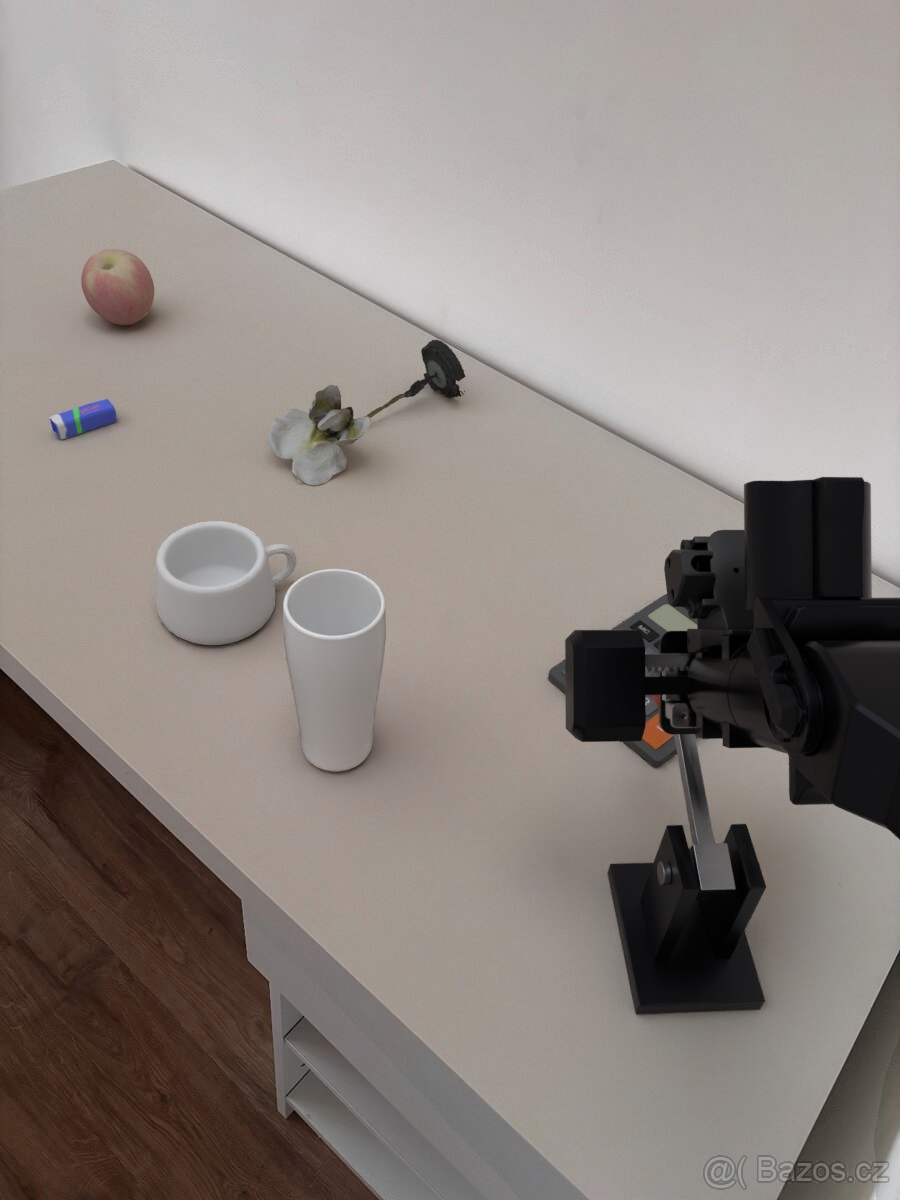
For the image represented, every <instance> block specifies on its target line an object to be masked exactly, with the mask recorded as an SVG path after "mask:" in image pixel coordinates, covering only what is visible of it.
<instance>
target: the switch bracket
mask: <svg viewBox="0 0 900 1200" xmlns="http://www.w3.org/2000/svg"><path fill="white" fill-rule="evenodd" d="M722 843H727V844H728V847H729V852H730V858H731V863H732V868H733V874H734V879H735V884H736V889H735V890H734V891H733V892H732V893H731V894H730V895H729V896H728V897H727V898H726V899H724V900H699V901H695V899H696V897H697V894H698V892H699V890H700V888H699V885H698V881H697V877H696V873H695V870H694V866H693V862H692V858H691V855H690V851H689V848H690V847H689V844H688V840H687V837H686V832H685V828H684V826H683V824H668V825H666V827H665V829H664V832H663V835H662V838H661V840H660V844H659V846H658V850H657V852H656V855H655V857H654V860H653V862H624V863H623V862H622V863H621V862H619V863H610V864H609V867H608V870H607V877H608V882H609V888H610V893H611V898H612V903H613V908H614V912H615V918H616V923H617V928H618V933H619V937H620V942H621V947H622V952H623V958H624V962H625V968H626V972H627V978H628V983H629V987H630V992H631V998H632V1002H633V1008H634V1013H635V1015H651V1014H674V1013H676V1014H678V1013H702V1012H703V1013H705V1012H725V1011H726V1012H727V1011H753V1010H761V1009H762V1007H763V1006H764V1004H765V1002H766V999H765V995H764V992H763V987H762V985H761V982H760V979H759V975H758V971H757V968H756V965H755V961H754V957H753V955H752V950H751V947H750V943H749V940H748V938H747V934H746V931H745V930H746V928H747V927H748V925H749V923H750V921H751V919H752V916H753V915H754V913H755V911H756V909H757V907H758V905H759V903H760V902H761V899H762V897H763V895H764V893H765V891H766V890H767V884H766V881H765V878H764V874H763V872H762V868H761V865H760V862H759V859H758V856H757V853H756V850H755V847H754V843H753V840H752V836H751V834H750V831H749V828H748V825H747V823H731V824H730V826H729V829H728V830H727V833H726V836H725V837H724V840H723V842H722Z"/></svg>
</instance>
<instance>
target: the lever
mask: <svg viewBox="0 0 900 1200" xmlns="http://www.w3.org/2000/svg"><path fill="white" fill-rule="evenodd" d="M653 700H654V702H655V704H656V706H657V707H658V709H659V695H653ZM674 738H675V744H676V750H677V753H676V755H677V761H678V766H679V773H680V779H681V784H682V790H683V795H684V801H685V808H686V814H687V819H688V825H689V831H690V835H691V842H692V845H690V847H689V851H690V855H691V858H692V862H693V866H694V870H695V873H696V877H697V881H698V885H699V888H700V890H699V892H698V894H697V897H696V899H695V901H699V900H724V899H726V898H727V897H728V896H729V895H730V894H731V893H732V892H733V891H734V890H735V889H736V884H735V879H734V874H733V868H732V863H731V858H730V852H729V847H728V844H727V843H723V842H722V843H721V842H716V841H715V836H714V831H713V825H712V820H711V814H710V809H709V805H708V797H707V792H706V787H705V781H704V777H703V776H704V775H703V771H702V765H701V761H700V754H699V749H698V744H697V737H696V738H695V734H674Z"/></svg>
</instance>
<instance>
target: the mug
mask: <svg viewBox="0 0 900 1200" xmlns="http://www.w3.org/2000/svg"><path fill="white" fill-rule="evenodd" d="M279 554H282V555H284V556H286V563H285V565H284V567H283V568H282V569H281V570H280V571H279V572H277V573H275V574H272V571H271V566H270V562H269V557H271V556H273V555H279ZM296 565H297V555H296V551H295V550H294V548H292V547H291V546H289V545H287V544H284V543H275V544H274V543H273V544H271V545H267V546H265V544H264V542H263V540H262V539H261V538H260V537H259V536H258V534H256V532H254V531H252V530H251V529H249V528H248V527H247V526H244V525H241V524H239V523H236V522H230V521H224V520H208V521H207V520H206V521H201V522H196V523H192V524H189V525H187V526H184V527H181V528H180V529H178V530H176V531H174V532H173V533H170V534H169V535H168V537H166V538H165V540H163V541H162V543H161V545H160V546H159V549H158V551H157V553H156V559H155V581H156V582H155V599H156V601H155V602H156V608H157V612H158V615H159V619H160V621H161V623H162V624H163V625H164V627H165V628H166V629H167V631H170V632H171V633H172V634H173V635H175V636H177V637H179V639H183V640H185V641H187V642H190V643H192V644H197V645H204V646H221V645H222V646H223V645H226V644H227V645H228V644H233V643H236V642H239V641H241V640H243V639H246V638H248V637H250V636H251V635H253V634H254V633H256V632H257V631H259V630H260V629H261V628H263V626H264V625H265V624H266V623H267V622H268V620H270V618H271V617H272V615H273V612H274V609H275V607H276V589H275V588H276V587H275V585H278V584H279V583H281V582H283V581H285V580H286V579H287V578H289V577H290V576H291V574H292V573H293V572H294V570H295V569H296Z"/></svg>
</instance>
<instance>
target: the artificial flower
mask: <svg viewBox="0 0 900 1200" xmlns="http://www.w3.org/2000/svg"><path fill="white" fill-rule="evenodd" d="M420 353H421V358H422V362H423V364H424V367H425V371H426V372H425V373H423V377H424V378H423V379H418V380H416V381H414V383H412V384H411V385H410V387H409V389H408V390H406V391H405V392H403V393H399V394H397V395H395V396H394V397H392V398H391V399H390V400H388V401H387V403H384V404H383V406H380V407H377V408H375V409H374V410H372V411H370V412H369V413H368V414H366V415H364V416H360V417H358V418H354V409H353V407H352V406H346V407H343V408H342V394H341V391H340V388H339V386H338V385H335V384H329V385H327V386H326V387H324V388H323V389H320V390H318V391H316V392H315V393H314V395H313V398H312V400H311V403H310V404H309V411H308V412H306V411H305V410H304V409H299V408H289V409H286V410H284V411H283V413H282V414H281V415H280V416H279V417H277V418H275V419H273V420H272V421H271V422H270V426H269V428H268V434H267V440H268V443H269V446H270V448H271V451H272V453H273V454H274V455H275V456H276V457H278V458H281V459H285V460H291V461H292V471H291V473H292V474H293V475H294V476H295V479H296V481H297V482H298V483H300V484H302V485H305V484H307V485H308V486H310V487H311V486H312V487H316V486H319V485H320V486H321V485H324V484H326V483H327V482H328V481H330V480H331V479H332V478H333V476H335V475H337V474H339V473H341V472H342V471H344V470H345V469H346V466H347V458H346V455H345V454H344V451H343V449H342V447H341V446H343V447H345V446H347V445H352V444H354V443H355V442H356V441H358V440H359V439H360V438H362V437H363V436H364V434H365V433H366V431H367V430H369V428H370V426H371V422H372V419H371V418H372V417H374V416H375V415H377V414H378V413H381V412H382V411H383V410H384V409H386V408H388V407H390V406H391V405H393V404H395V403H396V402H398V401H400V400H401V399H405V398H413V397H415V396H416V395H417V394H419V393H420V392H422V390H424V389H425V387H426V386H427V385H428V386H429V387H430V388H431V390H433V391H434V392H435V391H438V392H439V393H440V394H441V395H443V396H444V397H445V398H447V399H451V398H458V397H460V398H461V397H462V396H464V395H465V394H464V393H465V392H466V390H463V391H461V390H460V385H459V384H458V383H459V382H460V381H462V380H463V379H465V378H466V373H465V370H464V368H463V366H462V364H461V361H460V360H459V358H458V356H457V355H456V353H455V352H454V351H453V349H451V348H450V346H448V344H446V343H445V342H444V341H441V340H439V339H431V340H430V341H428V343H427V344H425V346H423V347H422V348H421V349H420ZM457 382H458V383H457ZM304 483H305V484H304Z"/></svg>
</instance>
